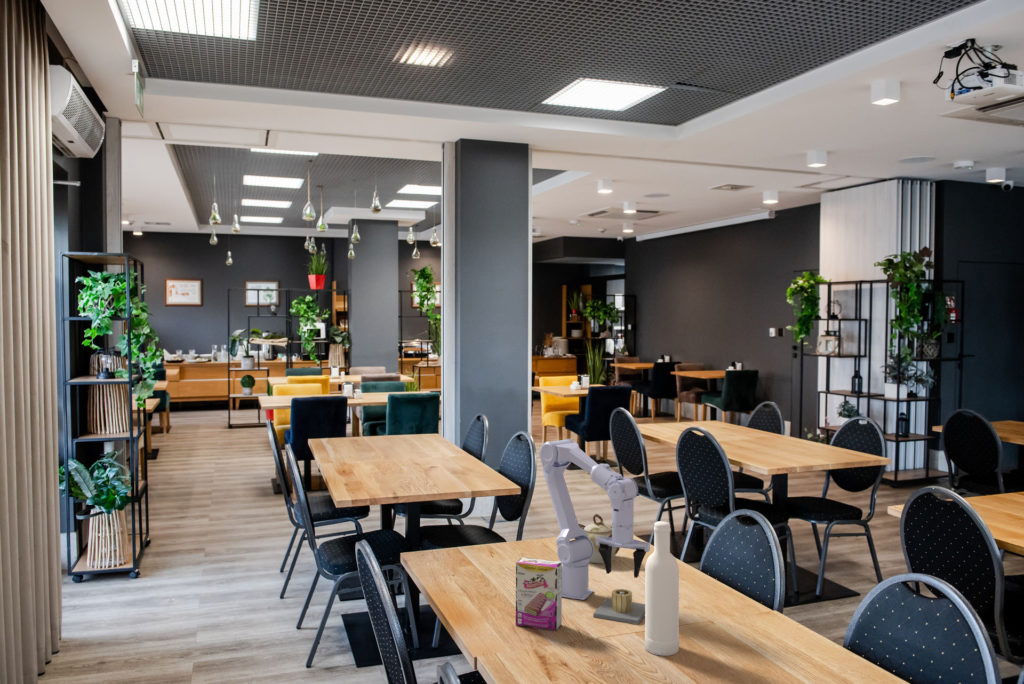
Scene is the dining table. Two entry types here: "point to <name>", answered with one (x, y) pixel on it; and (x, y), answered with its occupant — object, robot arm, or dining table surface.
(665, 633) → the bottle
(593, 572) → the dining table surface
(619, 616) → the stand
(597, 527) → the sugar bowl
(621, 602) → the collar
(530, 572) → the candy bar box
